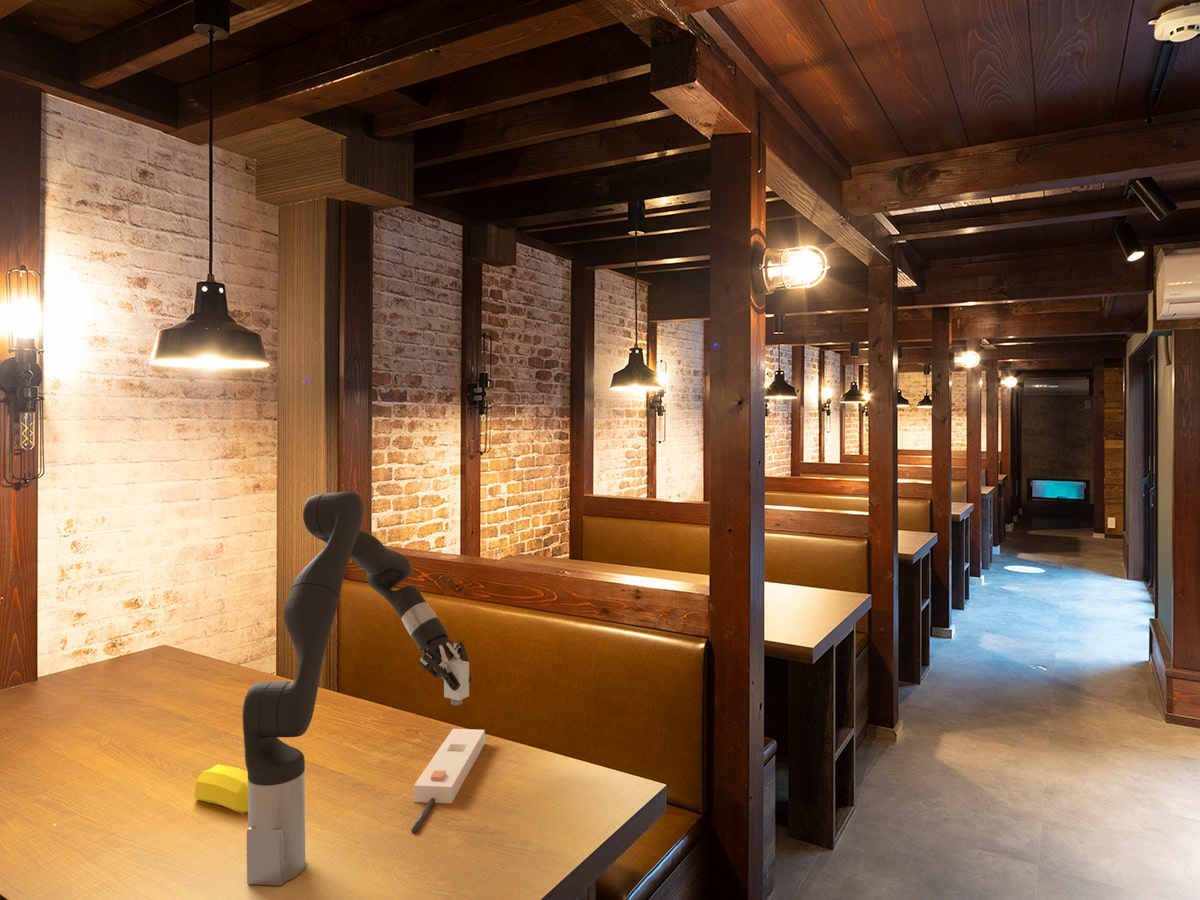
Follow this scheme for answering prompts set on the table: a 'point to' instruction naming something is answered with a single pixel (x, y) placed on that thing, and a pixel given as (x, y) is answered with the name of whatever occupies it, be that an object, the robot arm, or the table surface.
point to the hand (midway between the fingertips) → (463, 685)
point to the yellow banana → (224, 787)
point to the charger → (462, 675)
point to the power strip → (448, 769)
